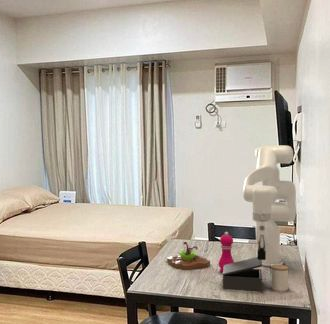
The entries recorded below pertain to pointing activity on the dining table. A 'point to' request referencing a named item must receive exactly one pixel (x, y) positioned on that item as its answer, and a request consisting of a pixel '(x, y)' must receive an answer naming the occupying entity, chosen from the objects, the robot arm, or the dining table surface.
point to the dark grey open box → (244, 280)
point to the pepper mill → (226, 251)
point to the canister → (279, 277)
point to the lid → (242, 266)
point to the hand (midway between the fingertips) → (261, 259)
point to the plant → (188, 259)
